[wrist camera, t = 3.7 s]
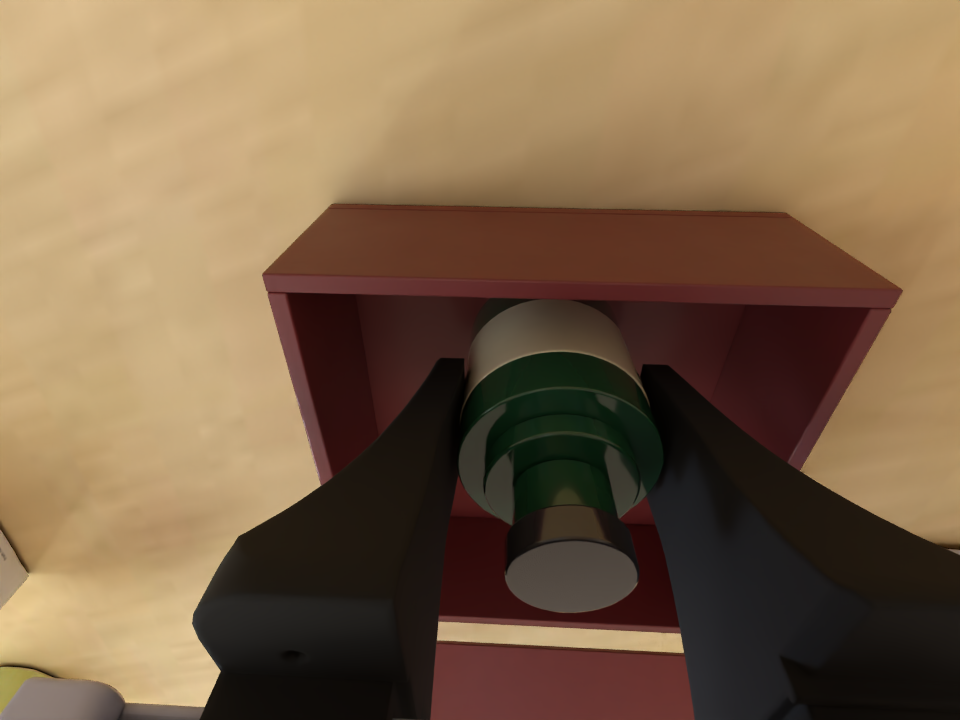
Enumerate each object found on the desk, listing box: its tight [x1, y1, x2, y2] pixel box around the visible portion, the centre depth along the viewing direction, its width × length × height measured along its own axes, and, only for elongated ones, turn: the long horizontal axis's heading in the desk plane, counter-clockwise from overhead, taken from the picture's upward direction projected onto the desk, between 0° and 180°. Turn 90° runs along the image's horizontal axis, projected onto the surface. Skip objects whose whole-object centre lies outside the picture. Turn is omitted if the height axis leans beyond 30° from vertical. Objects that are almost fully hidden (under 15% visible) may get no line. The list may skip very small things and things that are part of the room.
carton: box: [262, 204, 903, 633], centre depth 14 cm, size 12×13×4 cm
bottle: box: [456, 298, 664, 613], centre depth 11 cm, size 4×4×8 cm
